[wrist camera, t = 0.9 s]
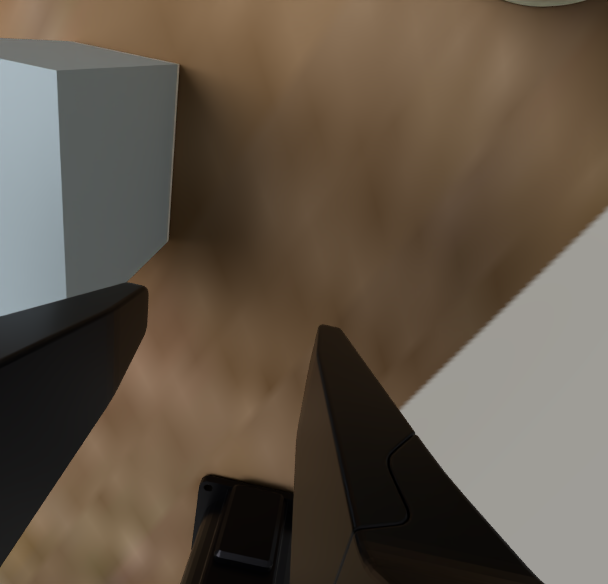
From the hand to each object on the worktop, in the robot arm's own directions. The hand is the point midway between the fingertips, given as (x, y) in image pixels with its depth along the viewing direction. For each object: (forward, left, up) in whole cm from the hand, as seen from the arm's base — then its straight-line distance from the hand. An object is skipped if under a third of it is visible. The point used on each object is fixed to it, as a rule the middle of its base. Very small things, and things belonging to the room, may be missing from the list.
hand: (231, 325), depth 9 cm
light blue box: (0, +7, -11) cm, 13 cm away
